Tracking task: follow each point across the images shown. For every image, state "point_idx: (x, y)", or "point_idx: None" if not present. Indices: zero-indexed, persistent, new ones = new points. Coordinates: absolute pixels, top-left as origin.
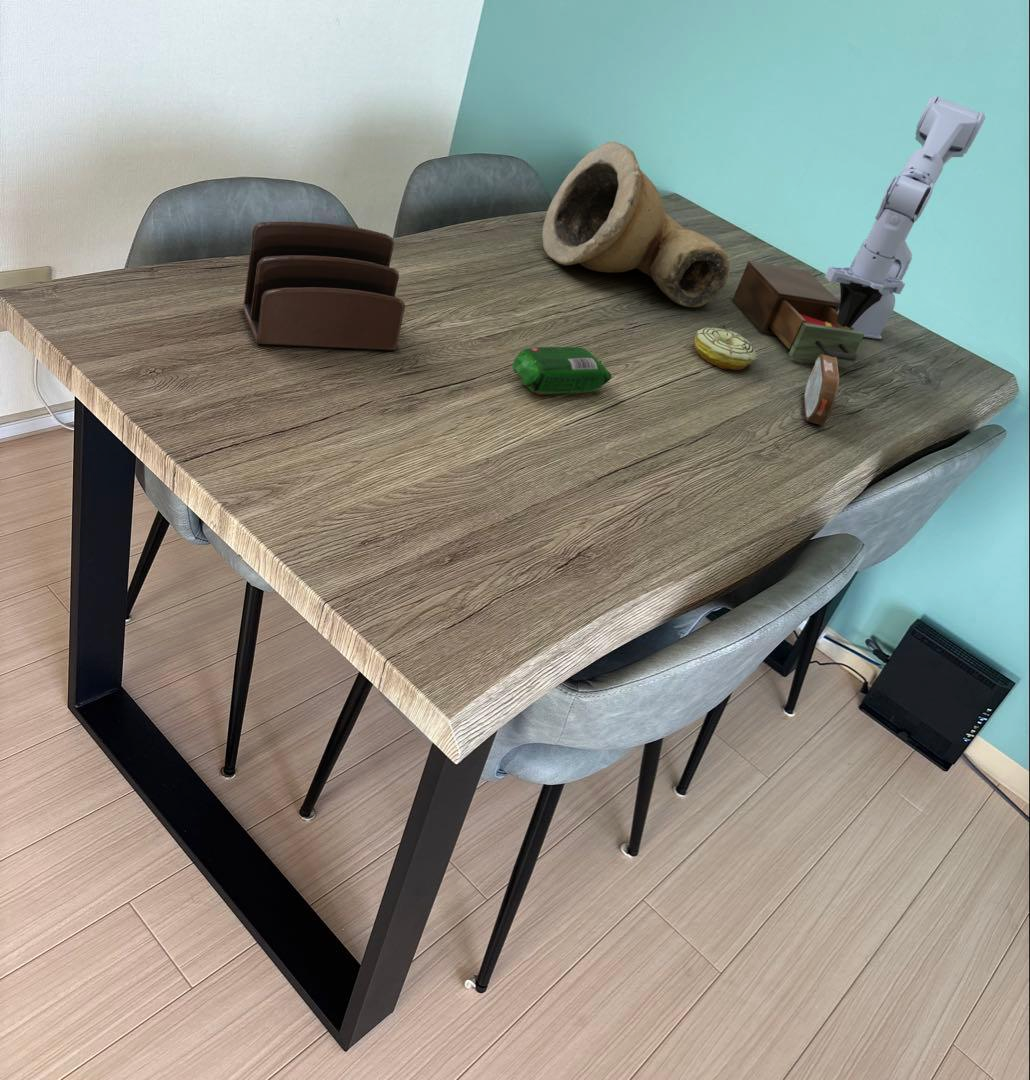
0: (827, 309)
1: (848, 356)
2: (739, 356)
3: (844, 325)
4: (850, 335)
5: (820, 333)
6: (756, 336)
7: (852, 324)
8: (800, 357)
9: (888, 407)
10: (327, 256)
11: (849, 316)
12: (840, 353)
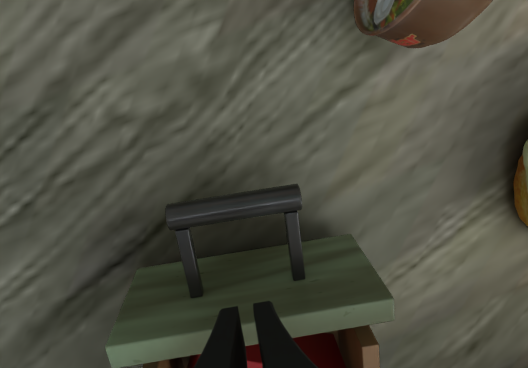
0: None
1: (204, 203)
2: None
3: (261, 305)
4: (171, 327)
5: (309, 297)
6: (389, 337)
7: (223, 316)
8: (320, 240)
9: (47, 41)
10: None
11: (270, 332)
12: (243, 205)
